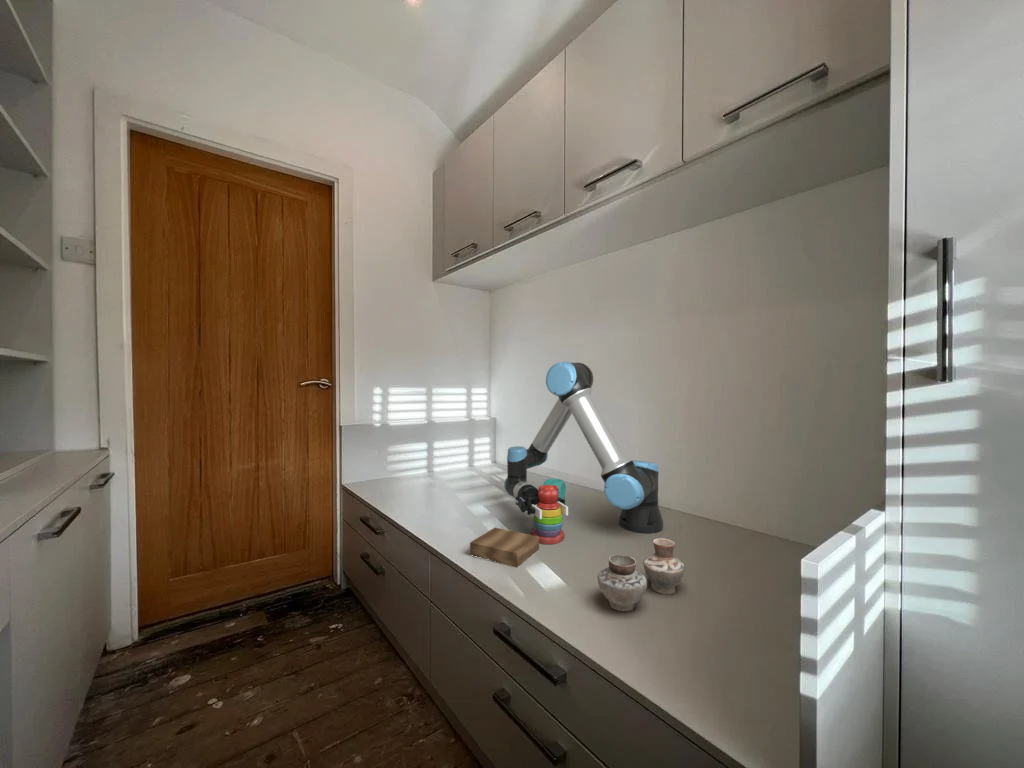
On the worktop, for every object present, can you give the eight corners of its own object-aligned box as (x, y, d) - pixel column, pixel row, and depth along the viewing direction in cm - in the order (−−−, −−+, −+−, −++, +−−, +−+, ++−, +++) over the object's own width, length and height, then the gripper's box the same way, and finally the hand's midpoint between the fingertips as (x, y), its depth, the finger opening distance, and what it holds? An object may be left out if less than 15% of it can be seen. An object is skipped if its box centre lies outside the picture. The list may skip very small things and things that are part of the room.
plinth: (538, 549, 131) (538, 536, 131) (517, 567, 118) (517, 553, 118) (494, 539, 138) (494, 527, 138) (470, 555, 126) (470, 542, 126)
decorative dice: (542, 500, 182) (542, 482, 181) (548, 495, 189) (548, 477, 189) (560, 502, 178) (560, 484, 178) (566, 497, 185) (566, 479, 185)
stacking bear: (564, 533, 144) (564, 481, 143) (565, 545, 133) (565, 489, 133) (532, 532, 145) (532, 480, 144) (531, 544, 134) (530, 488, 134)
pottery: (695, 593, 104) (695, 545, 104) (622, 624, 91) (622, 569, 91) (657, 574, 114) (658, 530, 114) (587, 601, 101) (587, 551, 101)
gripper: (552, 501, 159) (583, 520, 138) (499, 507, 152) (523, 529, 131) (552, 481, 159) (583, 497, 138) (499, 486, 152) (522, 504, 131)
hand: (554, 512), depth 134 cm, fingers closed on stacking bear, 9 cm apart
